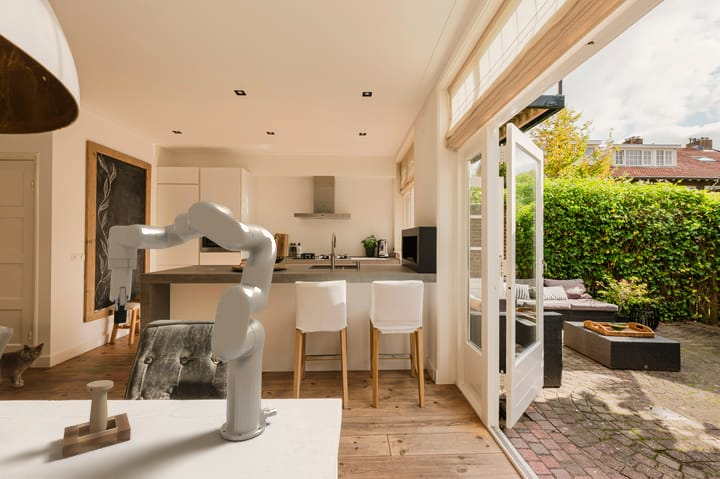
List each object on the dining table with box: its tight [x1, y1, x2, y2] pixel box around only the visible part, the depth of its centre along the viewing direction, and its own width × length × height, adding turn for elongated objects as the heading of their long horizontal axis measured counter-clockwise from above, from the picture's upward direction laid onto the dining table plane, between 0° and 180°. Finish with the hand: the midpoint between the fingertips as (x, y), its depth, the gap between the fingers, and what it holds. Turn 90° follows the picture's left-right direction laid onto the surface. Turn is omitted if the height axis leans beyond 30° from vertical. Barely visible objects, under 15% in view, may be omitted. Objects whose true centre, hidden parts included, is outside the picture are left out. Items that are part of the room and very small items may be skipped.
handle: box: [85, 379, 114, 434], centre depth 93 cm, size 5×6×15 cm
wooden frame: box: [61, 412, 132, 460], centre depth 92 cm, size 14×12×3 cm
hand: (120, 322), depth 106 cm, fingers closed
